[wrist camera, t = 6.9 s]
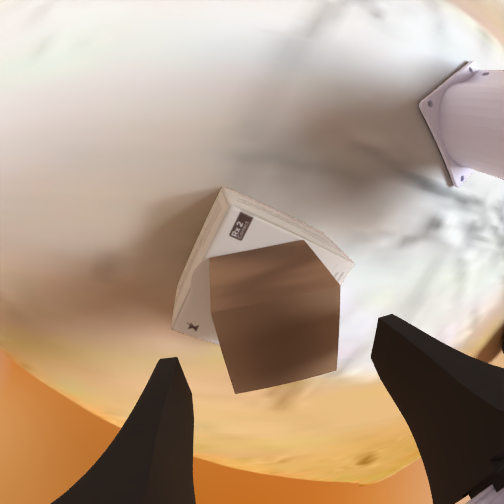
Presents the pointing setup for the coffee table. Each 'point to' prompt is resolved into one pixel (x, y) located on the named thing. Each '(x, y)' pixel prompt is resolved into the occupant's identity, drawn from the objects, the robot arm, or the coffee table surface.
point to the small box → (237, 240)
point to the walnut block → (274, 315)
